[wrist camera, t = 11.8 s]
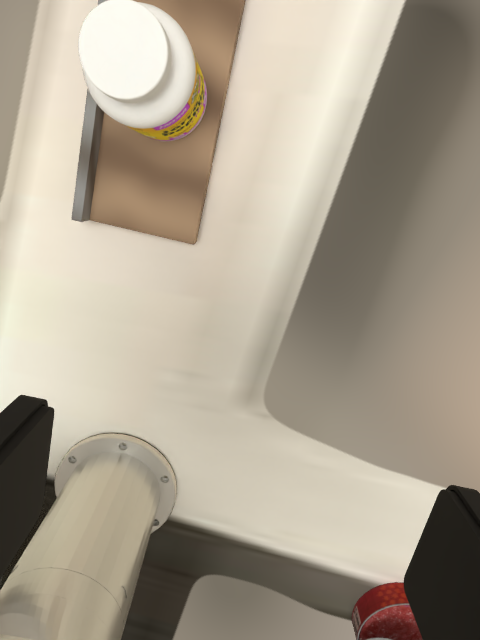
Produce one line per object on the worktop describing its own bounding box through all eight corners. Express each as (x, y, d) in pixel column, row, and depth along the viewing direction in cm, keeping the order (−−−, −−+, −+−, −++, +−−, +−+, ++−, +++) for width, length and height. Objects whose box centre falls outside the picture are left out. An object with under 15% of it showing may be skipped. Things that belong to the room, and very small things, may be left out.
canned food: (419, 594, 58) (459, 694, 51) (342, 611, 58) (371, 714, 50) (436, 564, 50) (486, 676, 43) (346, 583, 50) (381, 700, 43)
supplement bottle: (175, 160, 37) (137, 147, 25) (107, 104, 36) (33, 63, 24) (225, 88, 36) (212, 37, 23) (156, 28, 35) (104, -58, 22)
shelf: (196, 241, 41) (190, 247, 37) (86, 215, 41) (69, 219, 37) (254, -42, 35) (254, -70, 31) (124, -77, 34) (108, -109, 31)
